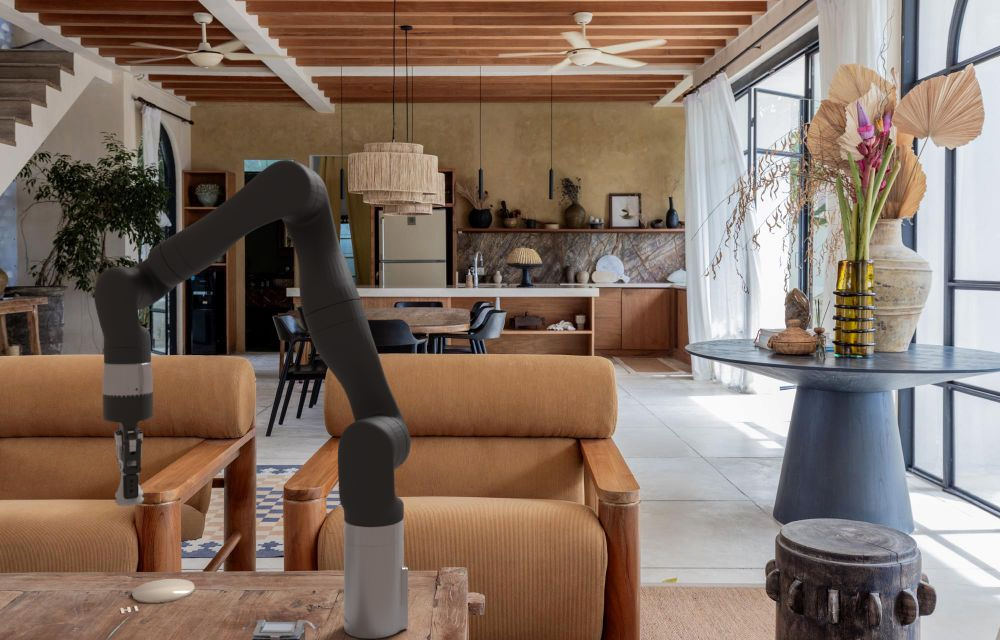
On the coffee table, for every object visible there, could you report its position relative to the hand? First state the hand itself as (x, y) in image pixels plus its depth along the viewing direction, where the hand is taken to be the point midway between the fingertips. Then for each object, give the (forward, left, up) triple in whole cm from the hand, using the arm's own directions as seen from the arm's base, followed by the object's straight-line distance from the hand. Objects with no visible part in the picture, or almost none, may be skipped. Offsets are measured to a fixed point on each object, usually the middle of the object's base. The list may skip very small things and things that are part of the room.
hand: (129, 494), depth 140 cm
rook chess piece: (0, 0, -2) cm, 2 cm away
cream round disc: (-6, -6, -19) cm, 21 cm away
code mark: (0, 0, -19) cm, 19 cm away
